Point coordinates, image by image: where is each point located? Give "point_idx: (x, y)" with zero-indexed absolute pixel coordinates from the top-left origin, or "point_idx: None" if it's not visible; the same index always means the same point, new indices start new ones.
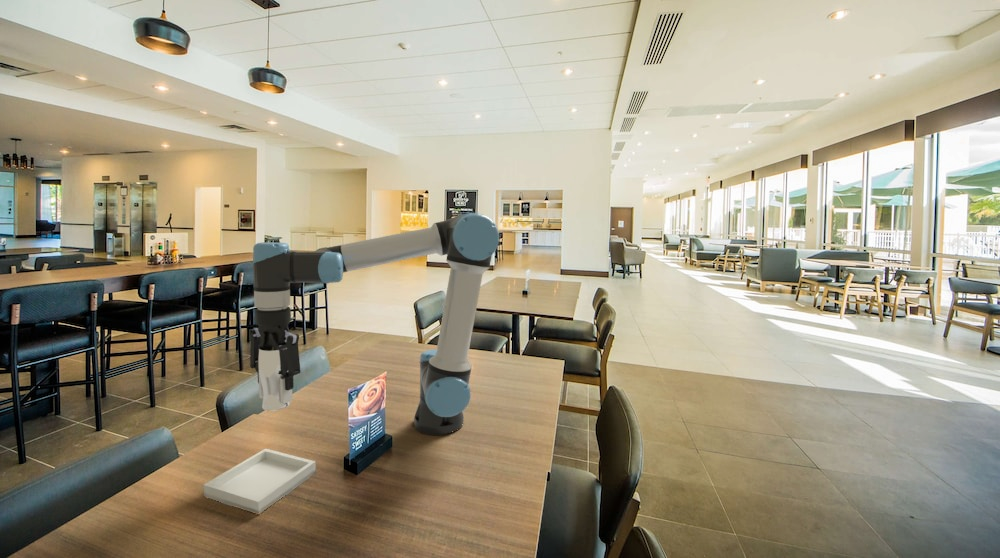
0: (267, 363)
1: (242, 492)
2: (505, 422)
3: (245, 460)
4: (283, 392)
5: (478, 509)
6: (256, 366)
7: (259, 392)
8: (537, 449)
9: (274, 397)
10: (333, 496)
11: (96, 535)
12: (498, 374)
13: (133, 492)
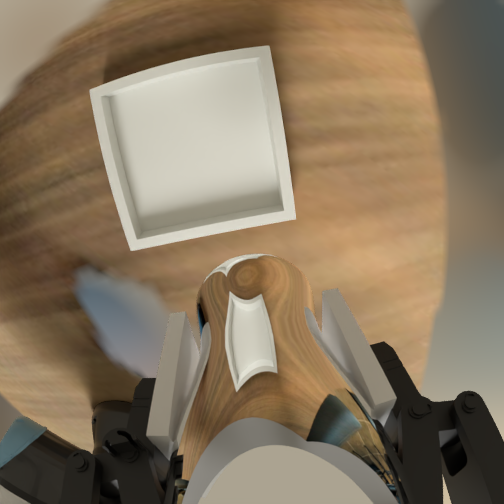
0: None
1: (188, 96)
2: (79, 438)
3: (286, 157)
4: (162, 360)
5: None
6: (434, 426)
7: (346, 307)
8: (14, 403)
9: (211, 319)
10: (50, 212)
11: None
12: None
13: (400, 19)
